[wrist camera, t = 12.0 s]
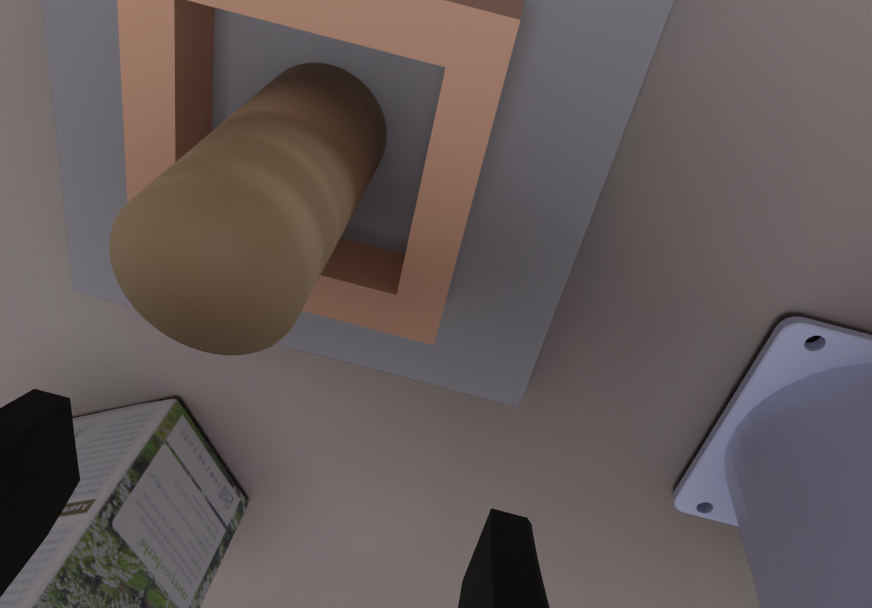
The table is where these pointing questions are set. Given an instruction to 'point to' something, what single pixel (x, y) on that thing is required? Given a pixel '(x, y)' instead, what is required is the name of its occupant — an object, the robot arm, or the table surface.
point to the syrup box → (135, 517)
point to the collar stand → (400, 165)
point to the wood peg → (251, 213)
